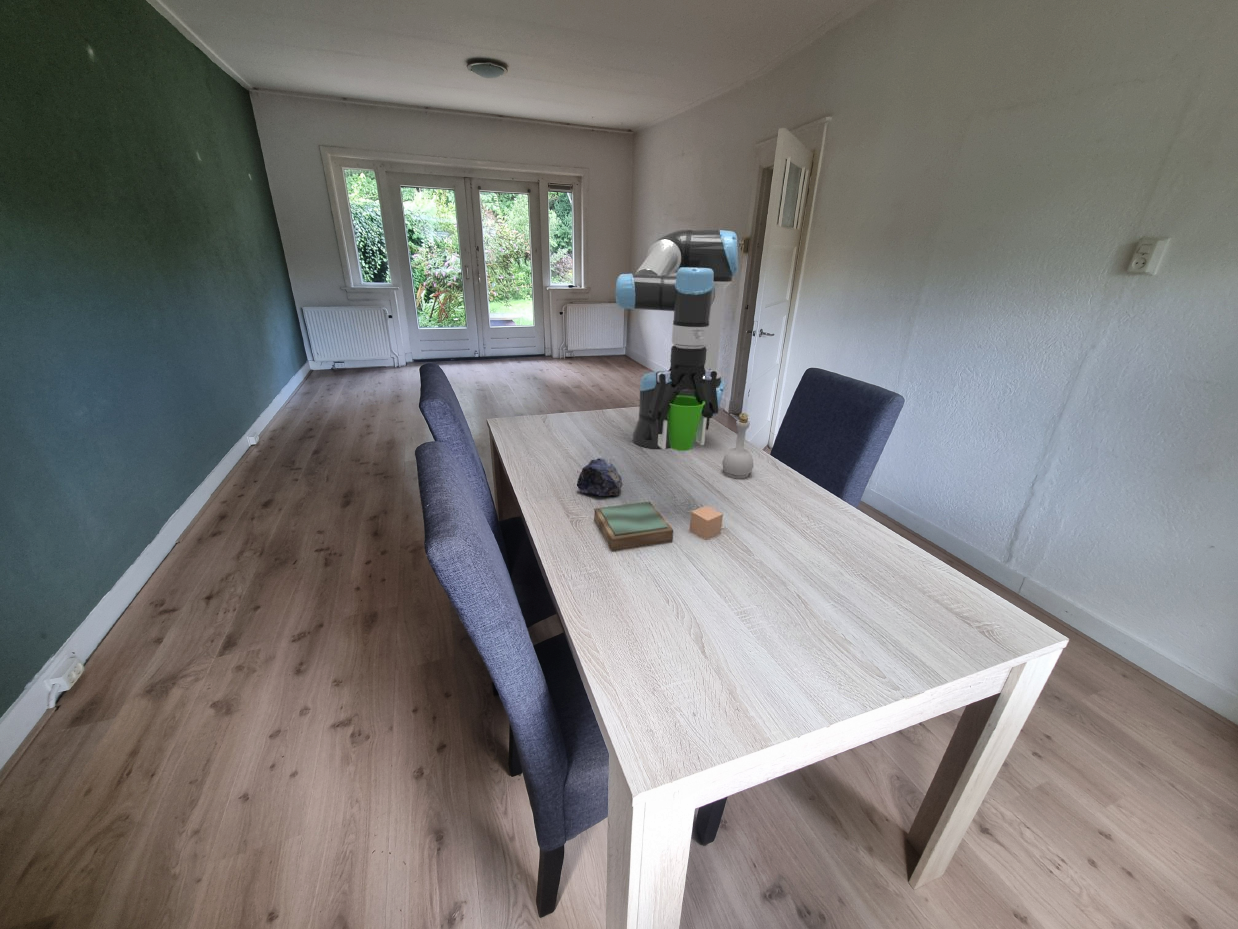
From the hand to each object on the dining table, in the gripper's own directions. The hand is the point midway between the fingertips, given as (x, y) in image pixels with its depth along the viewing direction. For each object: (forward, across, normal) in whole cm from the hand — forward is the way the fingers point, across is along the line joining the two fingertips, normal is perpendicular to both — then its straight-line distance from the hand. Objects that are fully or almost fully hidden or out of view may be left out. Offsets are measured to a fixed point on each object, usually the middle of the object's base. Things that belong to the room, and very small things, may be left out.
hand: (680, 444), depth 113 cm
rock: (+18, -13, +17) cm, 28 cm away
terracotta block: (+18, +3, -9) cm, 21 cm away
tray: (+18, -13, -4) cm, 23 cm away
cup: (+1, 0, 0) cm, 1 cm away
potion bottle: (+18, +28, +17) cm, 37 cm away
